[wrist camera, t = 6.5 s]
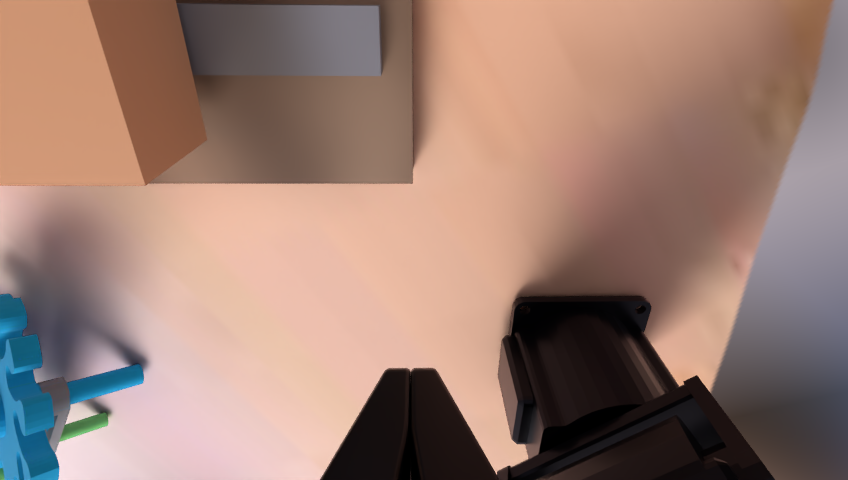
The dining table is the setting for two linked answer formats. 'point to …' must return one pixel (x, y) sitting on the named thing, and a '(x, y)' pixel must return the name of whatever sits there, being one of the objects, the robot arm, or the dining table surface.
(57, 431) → the gear
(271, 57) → the base
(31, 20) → the sliding jaw
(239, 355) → the dining table surface
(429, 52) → the dining table surface
